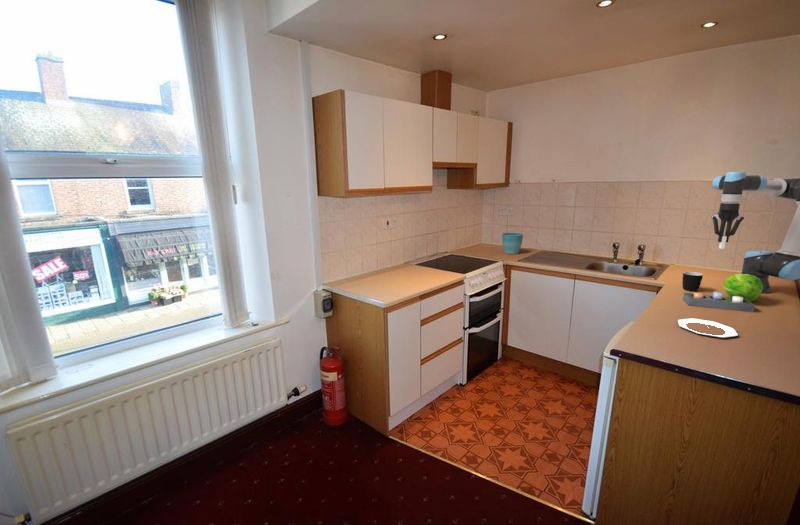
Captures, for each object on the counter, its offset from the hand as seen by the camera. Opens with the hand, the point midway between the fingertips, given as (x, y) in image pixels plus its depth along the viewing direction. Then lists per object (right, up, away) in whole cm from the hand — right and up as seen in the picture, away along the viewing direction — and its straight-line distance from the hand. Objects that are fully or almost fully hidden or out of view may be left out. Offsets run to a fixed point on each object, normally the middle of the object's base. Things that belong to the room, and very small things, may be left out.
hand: (721, 248), depth 192 cm
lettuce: (+15, -28, +6) cm, 32 cm away
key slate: (-5, -27, -3) cm, 27 cm away
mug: (+3, -24, +25) cm, 35 cm away
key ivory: (+3, -29, -6) cm, 29 cm away
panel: (-5, -30, -2) cm, 30 cm away
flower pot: (-69, +1, +134) cm, 151 cm away
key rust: (-12, -27, +1) cm, 30 cm away
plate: (-34, -37, -31) cm, 59 cm away
